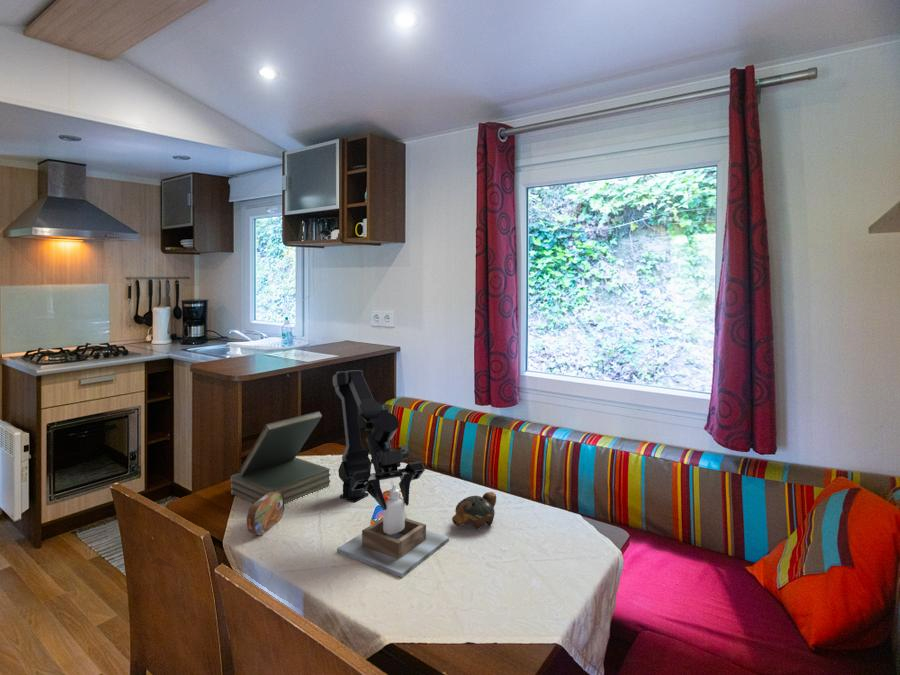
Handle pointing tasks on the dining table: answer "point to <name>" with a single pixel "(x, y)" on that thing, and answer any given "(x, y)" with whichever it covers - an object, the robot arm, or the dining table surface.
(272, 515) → the tin
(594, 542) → the dining table surface
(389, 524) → the eye dropper bottle
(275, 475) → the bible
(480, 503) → the decorative turtle
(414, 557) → the box
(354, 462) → the robot arm
